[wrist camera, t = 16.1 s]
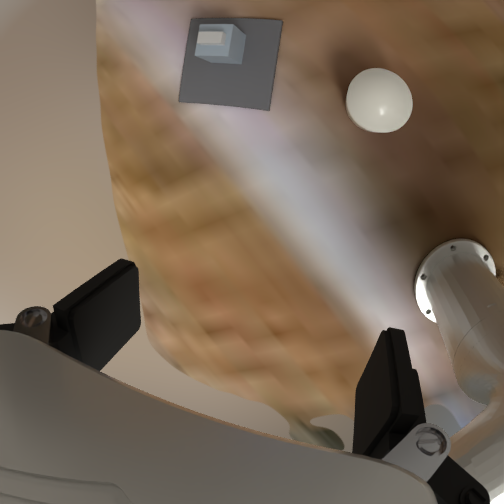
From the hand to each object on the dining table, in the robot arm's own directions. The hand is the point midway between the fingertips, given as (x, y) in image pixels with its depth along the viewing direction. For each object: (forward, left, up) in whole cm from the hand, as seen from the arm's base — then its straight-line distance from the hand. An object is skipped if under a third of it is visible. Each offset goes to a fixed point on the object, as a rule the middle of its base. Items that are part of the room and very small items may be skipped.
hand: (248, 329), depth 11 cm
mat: (+13, -14, -30) cm, 36 cm away
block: (+13, -16, -30) cm, 36 cm away
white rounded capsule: (-5, -11, -30) cm, 33 cm away
